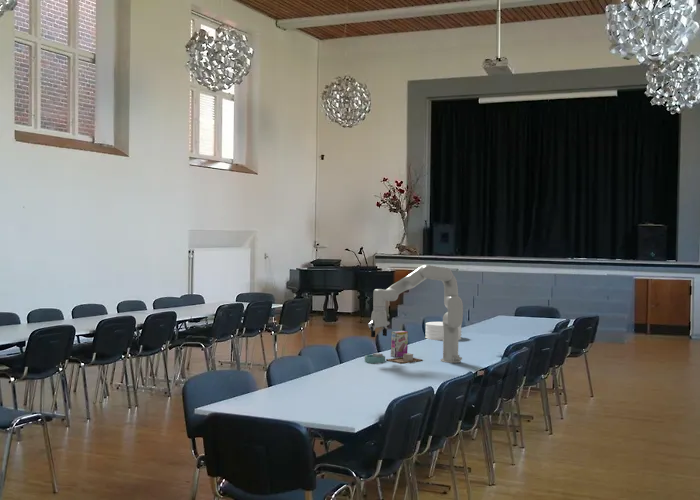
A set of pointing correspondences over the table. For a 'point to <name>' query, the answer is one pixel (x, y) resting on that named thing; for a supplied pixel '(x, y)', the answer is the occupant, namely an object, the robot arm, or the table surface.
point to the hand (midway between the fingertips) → (379, 336)
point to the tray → (400, 360)
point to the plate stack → (437, 331)
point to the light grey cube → (377, 355)
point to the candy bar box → (399, 343)
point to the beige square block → (407, 357)
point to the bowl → (374, 359)
